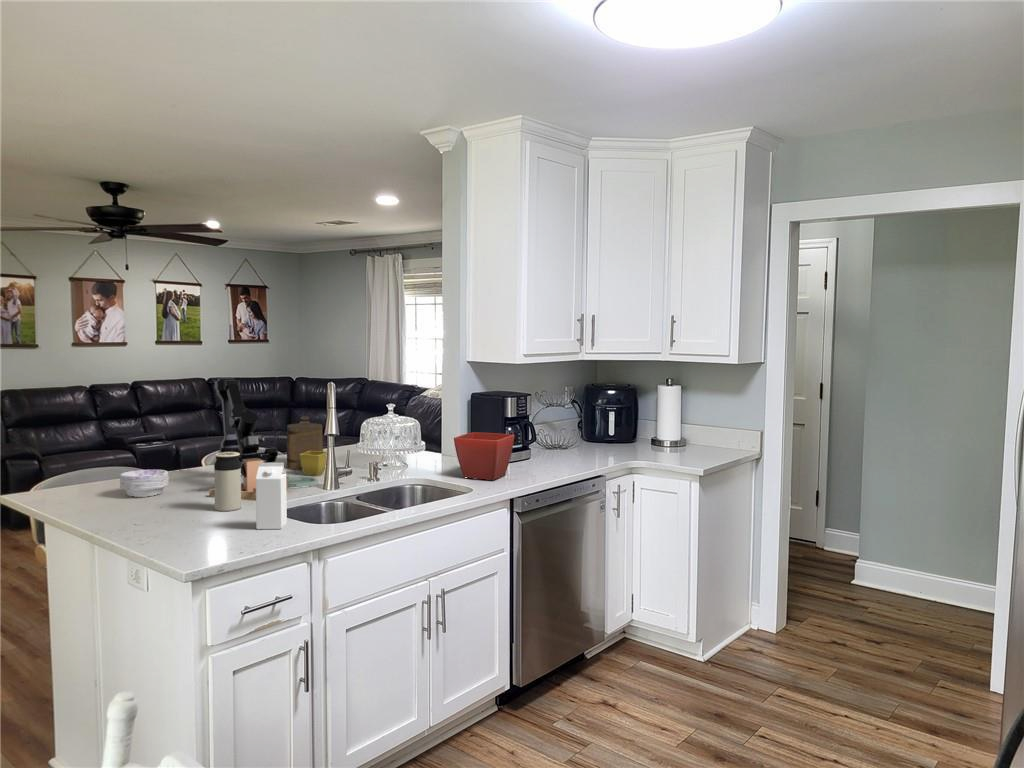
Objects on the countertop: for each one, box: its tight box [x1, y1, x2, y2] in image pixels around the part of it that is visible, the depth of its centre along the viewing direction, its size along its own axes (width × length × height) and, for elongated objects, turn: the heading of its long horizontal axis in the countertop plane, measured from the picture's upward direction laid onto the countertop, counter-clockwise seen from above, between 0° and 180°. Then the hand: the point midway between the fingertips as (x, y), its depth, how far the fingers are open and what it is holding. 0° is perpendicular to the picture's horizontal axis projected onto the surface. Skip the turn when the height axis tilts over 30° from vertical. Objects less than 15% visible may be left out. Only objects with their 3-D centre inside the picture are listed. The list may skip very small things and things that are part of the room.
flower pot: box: [300, 450, 328, 477], centre depth 296 cm, size 9×9×9 cm
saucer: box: [289, 476, 319, 487], centre depth 277 cm, size 13×13×2 cm
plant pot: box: [453, 431, 515, 481], centre depth 295 cm, size 19×19×17 cm
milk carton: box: [255, 462, 288, 530], centre depth 216 cm, size 7×7×19 cm
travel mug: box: [213, 452, 242, 512], centre depth 237 cm, size 8×8×18 cm
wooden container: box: [286, 415, 324, 471], centre depth 312 cm, size 15×15×22 cm
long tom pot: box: [242, 458, 263, 492], centre depth 260 cm, size 6×6×12 cm
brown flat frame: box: [208, 476, 290, 501], centre depth 262 cm, size 18×21×4 cm
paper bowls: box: [119, 469, 169, 498], centre depth 256 cm, size 15×15×8 cm
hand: (254, 475), depth 258 cm, fingers closed on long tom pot, 6 cm apart
